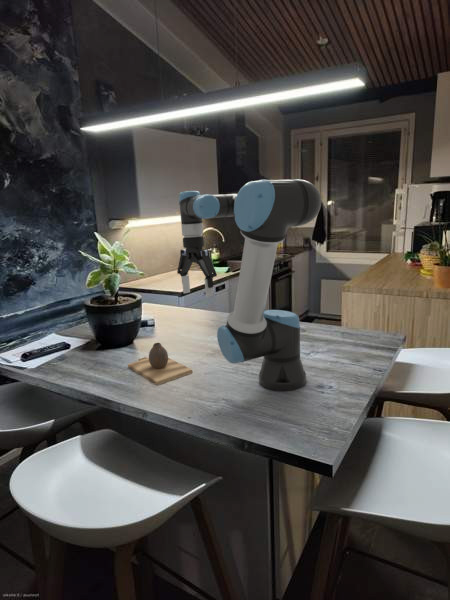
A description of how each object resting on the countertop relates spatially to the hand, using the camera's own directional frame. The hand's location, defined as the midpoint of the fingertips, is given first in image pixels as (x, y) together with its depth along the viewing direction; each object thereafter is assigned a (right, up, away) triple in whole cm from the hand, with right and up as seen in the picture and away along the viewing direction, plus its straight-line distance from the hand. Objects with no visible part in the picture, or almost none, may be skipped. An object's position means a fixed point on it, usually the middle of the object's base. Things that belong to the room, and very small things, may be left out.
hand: (197, 294), depth 149 cm
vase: (-14, -26, -2) cm, 30 cm away
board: (-14, -27, -1) cm, 31 cm away
